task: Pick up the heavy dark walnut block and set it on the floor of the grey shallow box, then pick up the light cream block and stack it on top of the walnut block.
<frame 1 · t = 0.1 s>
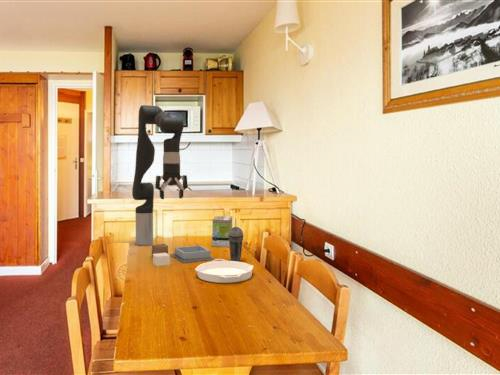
hand: (171, 198, 198), 29 cm above the table, fingers open, 8 cm apart
pan: (224, 276, 180), on the table
walnut block: (159, 257, 209), on the table
tea box: (222, 244, 242), on the table
cream block: (161, 264, 197), on the table
beverage cup: (235, 260, 206), on the table
grey shallow box: (192, 257, 210), on the table
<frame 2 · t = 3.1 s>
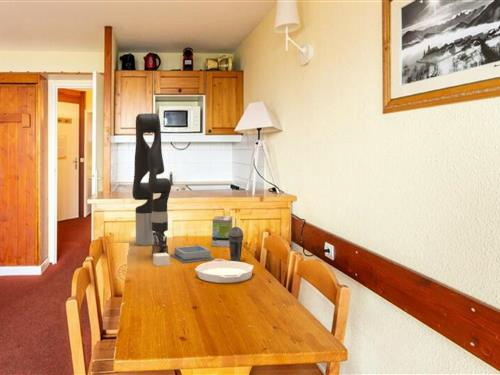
hand: (159, 255, 209), 1 cm above the table, fingers closed on walnut block, 6 cm apart
walnut block: (159, 257, 209), on the table, touching gripper
everything else where it was.
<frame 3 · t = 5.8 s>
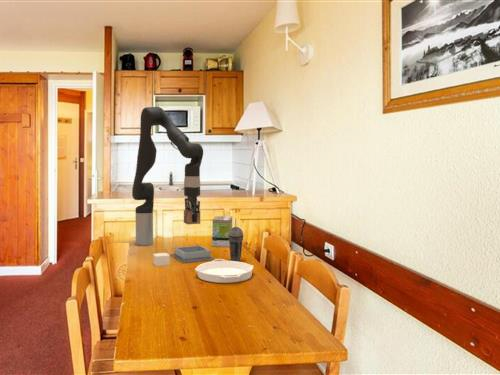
hand: (192, 221, 209), 17 cm above the table, fingers closed on walnut block, 6 cm apart
walnut block: (191, 223, 209), point 16 cm above the table, touching gripper
everything else where it was.
when the fingers open (4 cm above the table, at t = 8.8 s): walnut block drops 2 cm, resting on grey shallow box.
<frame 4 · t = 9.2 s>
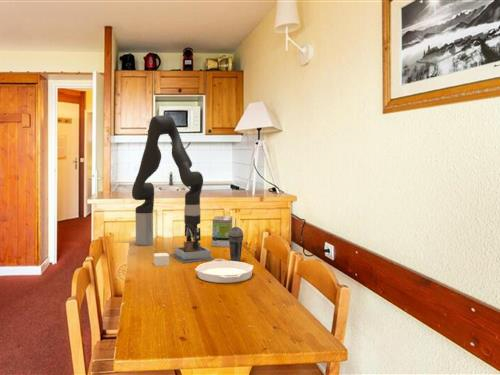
hand: (192, 247, 210), 5 cm above the table, fingers open, 8 cm apart
walnut block: (192, 254, 210), point 1 cm above the table, touching grey shallow box
everything else where it was.
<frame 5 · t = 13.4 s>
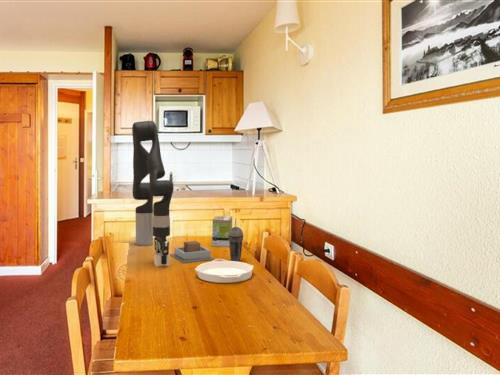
hand: (161, 262, 197), 1 cm above the table, fingers closed on cream block, 6 cm apart
cream block: (161, 264, 197), on the table, touching gripper
everything else where it was.
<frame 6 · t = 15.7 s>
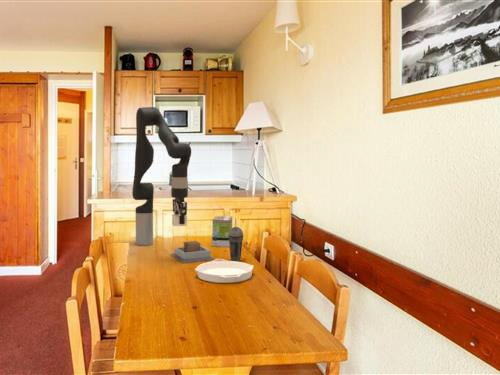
hand: (179, 222, 204), 17 cm above the table, fingers closed on cream block, 6 cm apart
cream block: (179, 224, 204), point 16 cm above the table, touching gripper
everything else where it was.
when the fingers open (9 cm above the table, at t = 18.4 s): cream block stays where it is, resting on walnut block.
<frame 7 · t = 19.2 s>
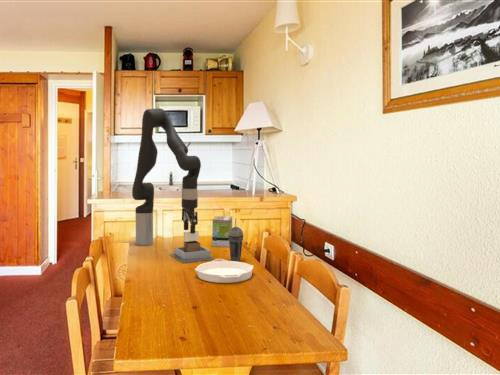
hand: (189, 231, 211), 12 cm above the table, fingers open, 8 cm apart
walnut block: (192, 254, 210), point 1 cm above the table, touching cream block, grey shallow box
cream block: (191, 241, 210), point 8 cm above the table, tilted 12°, touching gripper, walnut block
everything else where it was.
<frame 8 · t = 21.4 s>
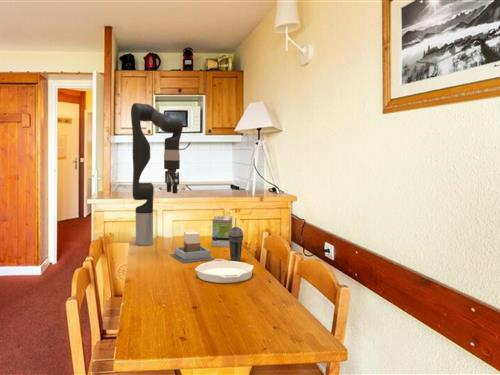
hand: (171, 192, 216), 30 cm above the table, fingers open, 8 cm apart
cream block: (191, 242, 210), point 7 cm above the table, touching walnut block
everything else where it was.
at the end: walnut block inside the target area on the grey shallow box (0.2 cm from its centre), point 1.2 cm above the grey shallow box's base; cream block 0.4 cm off-centre on the walnut block, point 6.0 cm above the walnut block's base; cream block tilted 0° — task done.
